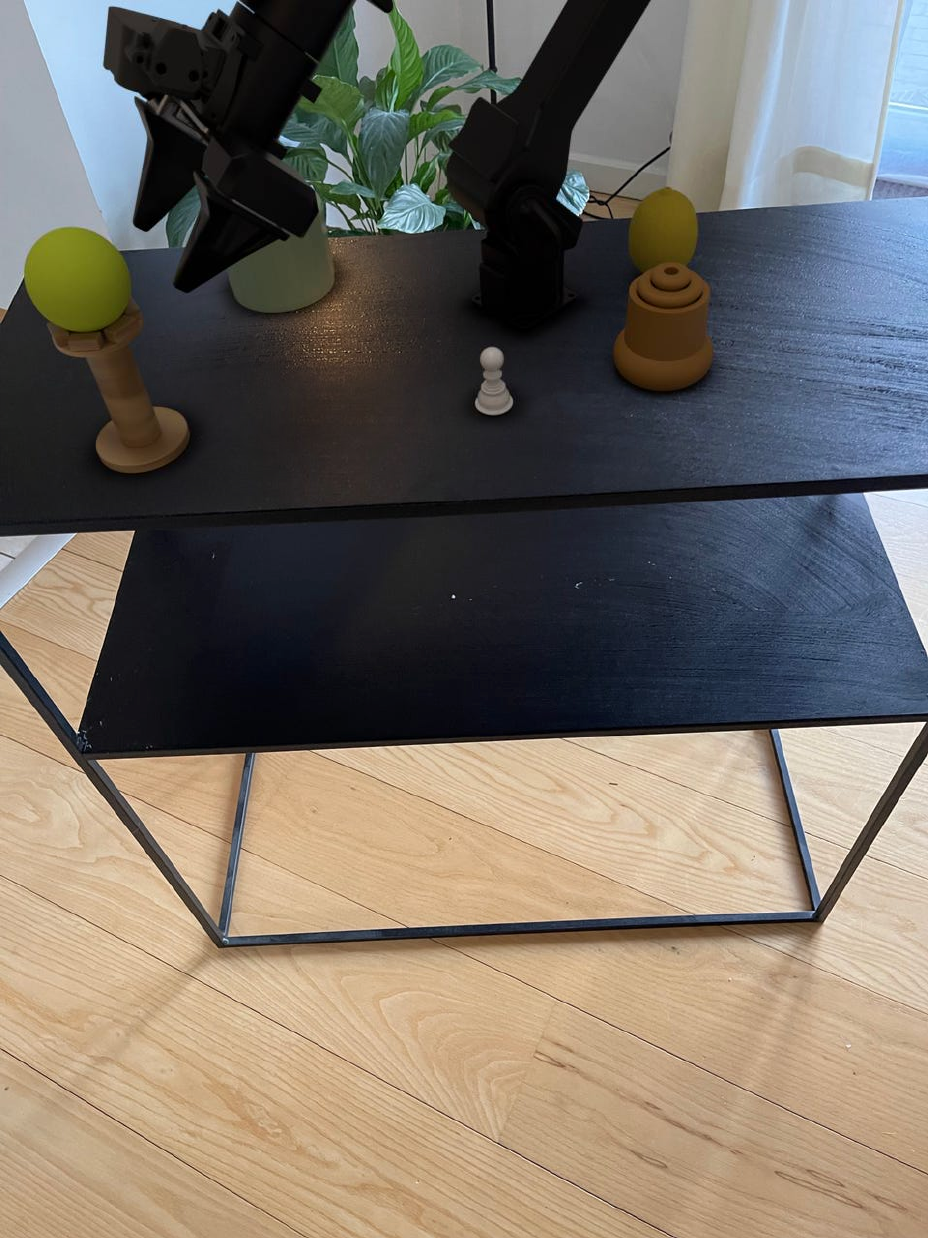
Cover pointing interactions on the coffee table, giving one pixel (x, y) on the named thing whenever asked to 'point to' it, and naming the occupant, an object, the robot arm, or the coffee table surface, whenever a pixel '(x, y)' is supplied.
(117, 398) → the chess rook
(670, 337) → the ornamental finial
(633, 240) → the lemon
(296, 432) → the coffee table surface
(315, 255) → the cup
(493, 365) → the chess pawn
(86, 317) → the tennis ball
